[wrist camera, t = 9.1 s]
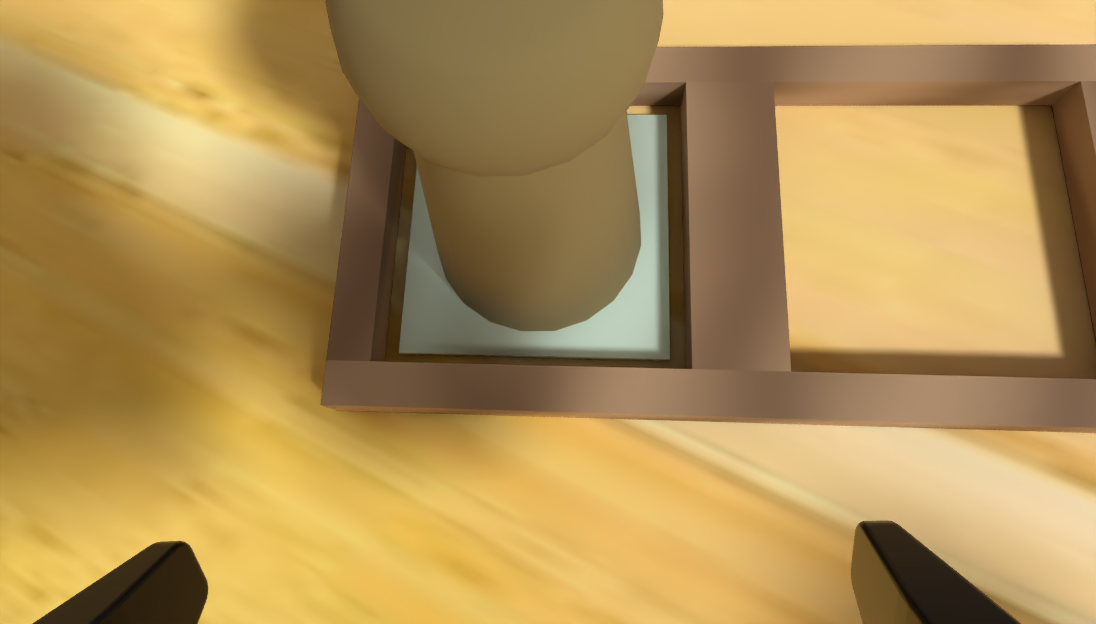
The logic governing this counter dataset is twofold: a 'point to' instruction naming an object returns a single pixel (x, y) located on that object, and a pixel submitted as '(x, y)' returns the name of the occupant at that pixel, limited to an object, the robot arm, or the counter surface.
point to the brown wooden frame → (704, 259)
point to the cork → (513, 139)
